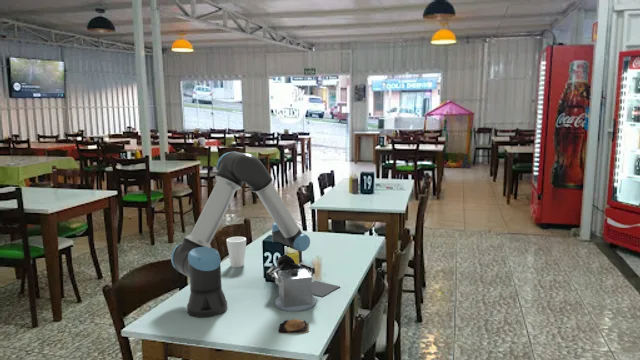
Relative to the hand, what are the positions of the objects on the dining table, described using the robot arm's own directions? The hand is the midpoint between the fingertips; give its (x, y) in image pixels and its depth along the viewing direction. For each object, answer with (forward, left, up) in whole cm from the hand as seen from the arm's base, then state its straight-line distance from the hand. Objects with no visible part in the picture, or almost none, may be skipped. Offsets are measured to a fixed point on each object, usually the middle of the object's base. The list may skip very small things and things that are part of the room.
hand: (294, 279), depth 201 cm
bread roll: (-20, -15, -9) cm, 27 cm away
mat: (+15, -1, -9) cm, 17 cm away
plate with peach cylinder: (-2, -2, -9) cm, 9 cm away
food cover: (-2, -2, -8) cm, 8 cm away
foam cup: (+20, +51, -9) cm, 56 cm away
